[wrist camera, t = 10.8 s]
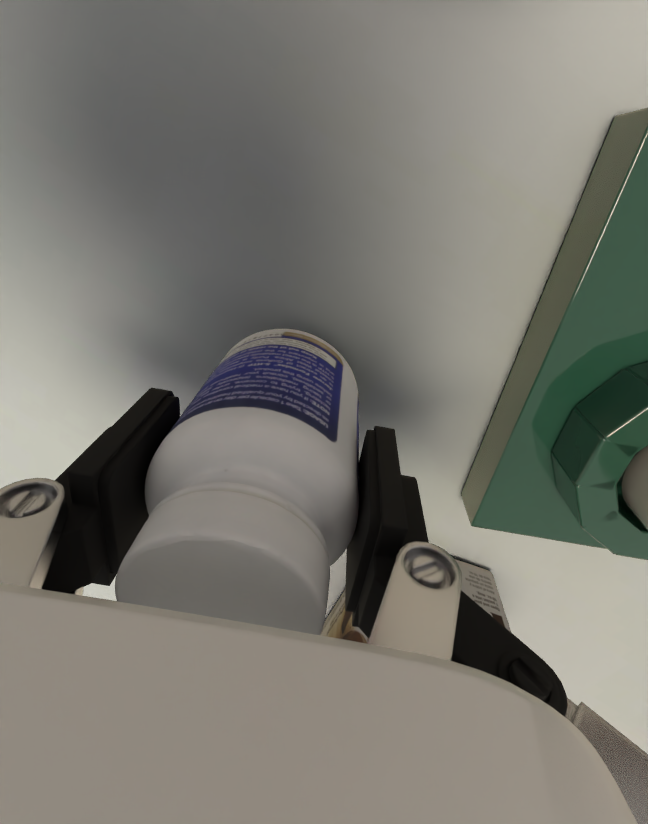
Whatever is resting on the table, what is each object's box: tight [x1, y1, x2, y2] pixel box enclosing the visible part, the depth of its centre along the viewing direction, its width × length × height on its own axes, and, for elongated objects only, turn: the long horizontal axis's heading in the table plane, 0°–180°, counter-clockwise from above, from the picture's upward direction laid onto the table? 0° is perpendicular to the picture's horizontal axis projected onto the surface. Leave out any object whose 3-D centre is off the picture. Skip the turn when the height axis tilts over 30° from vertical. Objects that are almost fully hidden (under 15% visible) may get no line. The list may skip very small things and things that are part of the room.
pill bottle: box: [115, 329, 359, 635], centre depth 12 cm, size 5×5×9 cm
